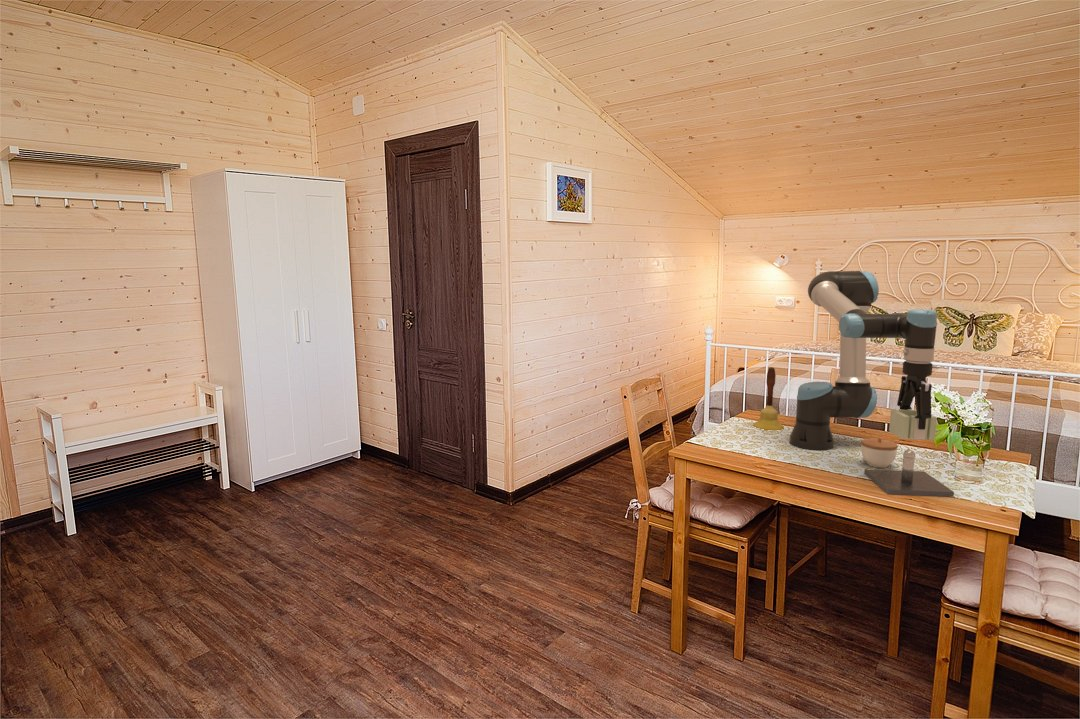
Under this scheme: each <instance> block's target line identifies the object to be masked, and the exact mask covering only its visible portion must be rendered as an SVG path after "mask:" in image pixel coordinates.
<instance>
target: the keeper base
mask: <svg viewBox="0 0 1080 719" xmlns="http://www.w3.org/2000/svg"><path fill="white" fill-rule="evenodd" d="M915 459H916V452H915V451H913V450H912V449H905V450H904V452H903V453H902V466H901V467H902V468H901V470H896V469H895V470H894V469H892V470H891V469H870V468H869V469H868V468H867V469H865V468H864V472H863V474H864V475H865V476H866V477H867V478H869V480H871V481H872V482H873V483H874V484H875V485H877V487H878V488H879V489H881V490H883V492H884V493H886V494H887V495H899V496H920V497H921V496H922V497H925V496H926V497H941V498H942V497H944V498H945V497H946V498H947V497H948V498H950V497H951V498H955V496H954V495H955V492H954V491H953V490H952V489H950V488H949V487H948V486H946V485H945V484H943V483H942V482H940V481H938V480H937V479H936V478H934V477H933V476H931V475H930V474H929V473H927V472H926V471H923V470H914V468H915V461H916V460H915Z"/></svg>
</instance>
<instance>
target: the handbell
mask: <svg viewBox="0 0 1080 719" xmlns="http://www.w3.org/2000/svg"><path fill="white" fill-rule="evenodd" d="M776 377H777V376H776V369H775V367H773V366H772V367H768V369H767V374H766V385H767V394H766V395H767V397H766V398H767V399H766V405H765V407H764V408H762V409H761V410H760V418H759V419H758V421H756V422H754V423H753V424H752V427H753V426H754V427H756V428H755V429H757V428H760V429H764V430H763V431H767V430H780V431H783V430H785V427H784V425H782V423H780V421H779V419H778V411H777V410H776V409H775V408H774V407H773V399H774V387H775V385H776ZM754 427H753V428H754ZM760 429H759V430H760ZM782 429H783V430H782Z"/></svg>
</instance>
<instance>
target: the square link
mask: <svg viewBox="0 0 1080 719" xmlns="http://www.w3.org/2000/svg"><path fill="white" fill-rule="evenodd" d="M915 416H917V411H916V409H912V410H901V409H892V408H891V409H890V415H889V426H888V427H889V428H888V432H889V433H891V434H893V435H894V436H895V437H897V438H899V439H901V440H908V439H909V441H915V440H914V428H915ZM937 418H938V417H937V416H935V415H933V414H931V418H928V419H926V429H925V439H924V440H923V441H927V440H928V441H935V438H936V431H937V430H936V428H937V421H938V420H937Z"/></svg>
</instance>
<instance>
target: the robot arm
mask: <svg viewBox="0 0 1080 719" xmlns="http://www.w3.org/2000/svg"><path fill="white" fill-rule="evenodd" d="M879 290H880V288H879V283H878V280H877V278H876V276H875V275H874V274H873V273H872V272H871V271H861V270H848V271H847V270H843V271H842V270H840V271H839V270H838V271H836V270H835V271H834V270H833V271H832V270H831V271H824V272H822V273H819V274H817V275H815V276H814V277H813V278H812V280H811V281H810V283H809V284H808V287H807V295H808V297H809V300H811V302H812V303H813V304H814V305H816V306H818V307H822V308H823V309H825V311H827V312H828V313H829V314H830V315H831V316H832V317H833V319H835V320H836V321H837V322H838V330H839V333H840V334H839V335H840V336H839V339H840V340H839V344H840V345H839V376H838V378H837V379H836V380H835V382H834V385H833V383H831V382H829V381H810V382H804V383H803V384H800V385H799V386H798V388H797V395H796V413H795V414H796V416H795V424H794V426H793V428H792V431H791V432H790V435H789V443H790V445H792V446H794V447H797V448H800V447H801V449H805V450H814V451H815V450H816V451H825V450H831V449H833V448H834V445H835V444H834V443H835V442H834V441H835V440H834V437H833V433H832V430H831V427H830V426H831V424H830V423H831V419H832V418H840V419H842V418H843V419H844V418H845V419H847V418H849V419H861V418H862V419H866V418H868V417H870V416H871V415H872V414H873V413H874V411H875V409H876V407H877V404H878V403H877V402H878V394H877V390H876V389H875V388H874V386H871V381H870V380H869V379H868V378H867V377H866V375H867V374H866V373H867V372H866V371H867V370H866V369H867V366H866V365H867V364H866V363H867V339H904V350H903V351H902V353H903V360H904V362H902V374H903V375H902V376H901V381H900V382H901V384H900V388H899V393H898V398H897V402H896V403H897V404H896V405H897V406H898V407H899V410H913V408H912V407H911V406H912V403H913V401H915V402H914V403H915V411H916V413H917V416H915V428H914V440H913V441H925V440H924V439H925V429H926V419H928V418H931V415H932V388H933V385H932V383H927V377H930V376H931V375H932V373H933V365H934V364H933V363H932V362H933V361H934V357H935V356H934V355H935V345H936V344H935V343H936V333H937V326H938V321H937V320H938V317H937V316H938V313H937V312H936V311H935V310H934V309H933V310H932V309H922V308H921V309H920V308H919V309H917V308H916V309H909V310H908V312H907V313H904V312H893V313H868V311H869V310H870V309H872V304H874V303H876V302H877V300H878V296H879V292H880V291H879Z"/></svg>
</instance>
